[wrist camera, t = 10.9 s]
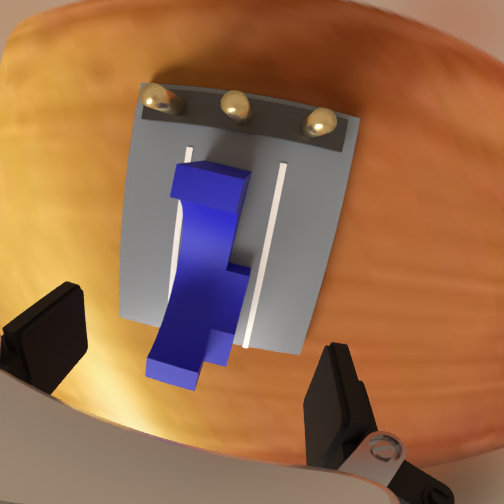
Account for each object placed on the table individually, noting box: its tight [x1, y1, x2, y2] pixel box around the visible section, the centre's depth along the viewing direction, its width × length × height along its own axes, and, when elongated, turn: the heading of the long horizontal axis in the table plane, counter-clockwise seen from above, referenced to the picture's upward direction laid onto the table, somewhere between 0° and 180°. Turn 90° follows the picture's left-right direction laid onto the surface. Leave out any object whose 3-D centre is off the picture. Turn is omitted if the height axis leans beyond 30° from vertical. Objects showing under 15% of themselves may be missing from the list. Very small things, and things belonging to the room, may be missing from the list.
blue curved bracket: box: [146, 160, 252, 391], centre depth 18 cm, size 12×4×6 cm, turn 166°
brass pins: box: [139, 83, 348, 152], centre depth 15 cm, size 12×2×5 cm, turn 80°
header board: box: [119, 83, 360, 355], centre depth 20 cm, size 14×17×1 cm
